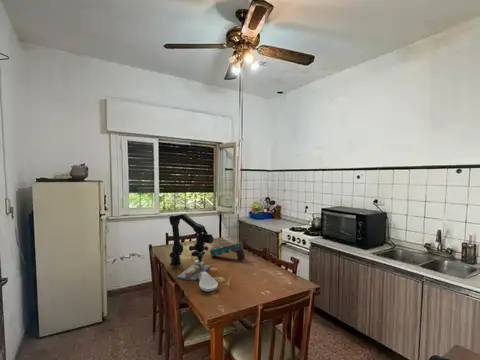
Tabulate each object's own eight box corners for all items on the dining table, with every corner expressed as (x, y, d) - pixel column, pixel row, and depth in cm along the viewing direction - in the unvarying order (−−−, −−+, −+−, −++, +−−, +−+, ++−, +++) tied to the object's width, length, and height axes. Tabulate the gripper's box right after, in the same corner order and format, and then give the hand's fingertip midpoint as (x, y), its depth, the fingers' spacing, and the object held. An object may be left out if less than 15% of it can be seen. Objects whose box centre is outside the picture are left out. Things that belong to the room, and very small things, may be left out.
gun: (244, 259, 220) (239, 241, 221) (213, 266, 228) (208, 249, 229) (246, 256, 227) (241, 240, 228) (216, 263, 234) (211, 247, 235)
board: (176, 278, 182) (176, 276, 182) (194, 265, 209) (194, 263, 209) (195, 280, 178) (195, 278, 178) (210, 266, 205) (210, 265, 205)
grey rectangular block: (195, 266, 202) (195, 260, 202) (202, 267, 200) (202, 260, 200) (194, 267, 199) (194, 261, 199) (201, 268, 197) (201, 262, 197)
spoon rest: (220, 292, 162) (220, 280, 162) (201, 295, 157) (202, 283, 157) (209, 278, 184) (209, 268, 183) (192, 280, 179) (192, 270, 179)
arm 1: (198, 265, 203) (198, 262, 203) (199, 266, 202) (199, 263, 202) (185, 276, 181) (185, 273, 181) (186, 276, 181) (186, 273, 181)
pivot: (200, 264, 208) (201, 261, 208) (204, 264, 207) (204, 262, 207) (198, 266, 203) (198, 263, 203) (201, 266, 202) (201, 264, 202)
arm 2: (200, 266, 202) (200, 263, 202) (201, 266, 202) (201, 263, 202) (186, 276, 181) (186, 273, 181) (188, 277, 181) (188, 273, 181)
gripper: (195, 238, 213) (195, 257, 213) (185, 244, 195) (184, 265, 195) (208, 239, 210) (208, 258, 210) (198, 245, 192) (198, 266, 192)
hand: (200, 262), depth 202 cm, fingers closed
